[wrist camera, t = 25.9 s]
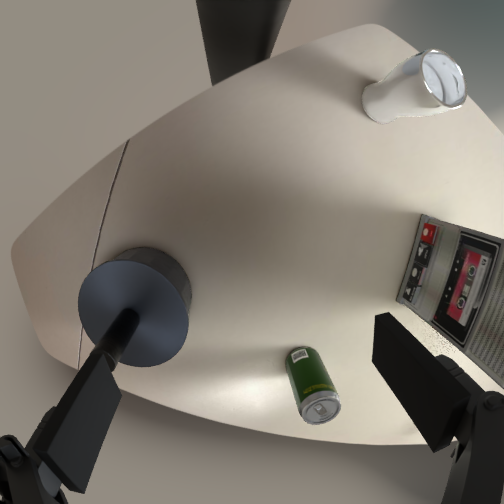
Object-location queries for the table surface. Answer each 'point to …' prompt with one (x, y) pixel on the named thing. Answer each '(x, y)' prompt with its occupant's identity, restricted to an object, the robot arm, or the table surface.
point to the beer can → (312, 386)
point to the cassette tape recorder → (459, 290)
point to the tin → (162, 268)
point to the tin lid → (132, 313)
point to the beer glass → (416, 88)
